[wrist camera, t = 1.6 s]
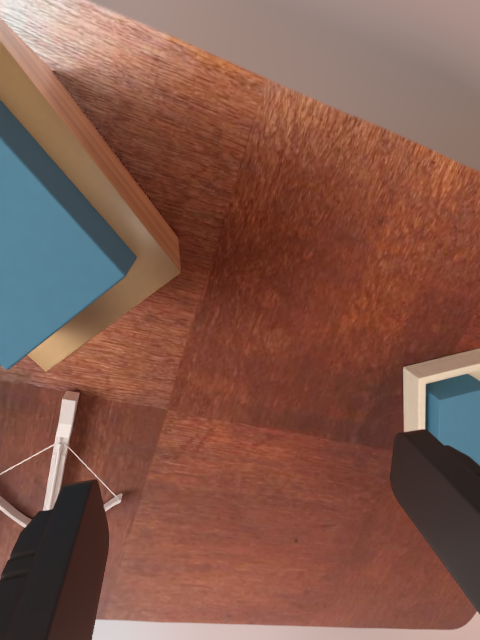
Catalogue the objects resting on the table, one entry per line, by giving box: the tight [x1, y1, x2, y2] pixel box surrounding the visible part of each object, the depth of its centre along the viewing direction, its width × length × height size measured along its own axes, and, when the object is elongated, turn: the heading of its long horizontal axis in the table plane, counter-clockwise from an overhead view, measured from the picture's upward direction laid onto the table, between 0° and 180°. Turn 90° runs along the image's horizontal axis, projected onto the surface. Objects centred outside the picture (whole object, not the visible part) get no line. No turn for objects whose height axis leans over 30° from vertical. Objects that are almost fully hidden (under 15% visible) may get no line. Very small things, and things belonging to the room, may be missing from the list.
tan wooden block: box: [0, 18, 181, 371], centre depth 21 cm, size 8×14×14 cm, turn 35°
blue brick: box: [425, 374, 480, 465], centre depth 39 cm, size 6×12×3 cm, turn 10°
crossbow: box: [0, 391, 122, 528], centre depth 34 cm, size 16×13×2 cm
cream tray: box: [403, 348, 480, 432], centre depth 40 cm, size 16×17×3 cm
